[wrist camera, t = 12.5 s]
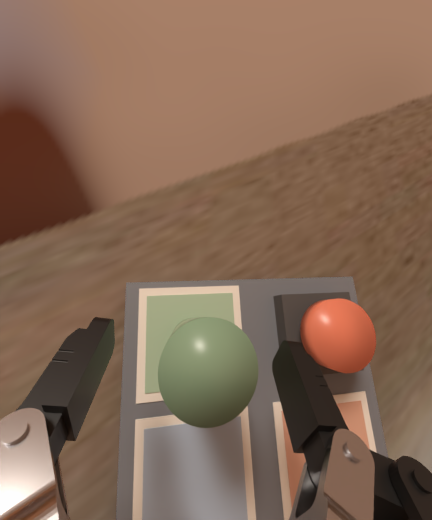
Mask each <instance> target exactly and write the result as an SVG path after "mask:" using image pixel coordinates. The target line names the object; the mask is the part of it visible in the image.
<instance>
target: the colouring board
mask: <svg viewBox="0 0 432 520" xmlns="http://www.w3.org/2000/svg"><path fill="white" fill-rule="evenodd" d="M337 298H339V299H347V300H350V301H352V302H354V303H356V304H357V305H358V301H357V296H356V291H355V286H354V281H353V277H323V278H286V279H249V280H211V281H174V282H137V283H126V301H125V324H124V347H123V370H122V393H121V416H120V438H119V461H118V484H117V507H116V520H289V518H290V515H291V511H292V507H293V504H294V500H295V496H296V492H297V489H298V485H299V481H300V477H301V473H302V470H303V466H304V463H305V462H306V459H305V456H304V453H294V451H293V448H292V444H291V440H290V436H289V433H288V429H287V425H286V421H285V417H284V414H283V410H282V406H281V402H280V398H279V395H278V391H277V387H276V383H275V380H274V376H273V372H272V362H273V358H274V357H275V355H276V353H277V351H278V349H279V347H280V345H281V343H282V342H283V341H284V340H287V341H295V342H300V343H301V344H302V346H303V343H302V340H301V335H300V325H301V320H302V317H303V315H304V313H305V311H306V310H307V309H308V308H309V307H310V306H311V305H312V304H314V303H315V302H317V301H321V300H328V299H337ZM200 317H215V318H221V319H224V320H227V321H229V322H232V323H233V324H235V325H236V326H238V327H239V328H240V329H241V330H242V331H243V332H244V333H245V334H246V335H247V336H248V338H249V339H250V341H251V343H252V344H253V347H254V349H255V352H256V355H257V360H258V381H257V386H256V389H255V392H254V394H253V397H252V399H251V401H250V402H249V404H248V405H247V407H246V408H245V409H244V410H243V411H242V412H241V413H240V414H239V415H238V416H237V417H236V418H234V419H233V420H232V421H230V422H228V423H226V424H224V425H221V426H218V427H213V428H199V427H195V426H191V425H189V424H186V423H184V422H183V421H181V420H179V419H178V418H177V417H176V416H175V415H174V414H173V413H172V412H171V411H170V410H169V409H168V407H167V406H166V404H165V402H164V400H163V398H162V396H161V393H160V389H159V384H158V366H159V361H160V357H161V354H162V351H163V349H164V347H165V345H166V343H167V341H168V339H169V338H170V336H171V335H172V333H173V331H174V329H175V327H176V326H177V325H178V324H179V323H180V322H181V321H183V320H185V319H188V318H200ZM303 348H304V346H303ZM304 351H305V353H306V354H308V353H307V352H306V350H305V348H304ZM317 364H318V363H317ZM318 365H319V367H320V369H321V371H322V374H323V376H324V379H325V380H326V382H327V384H328V388H329V389H330V391H331V393H332V395H333V397H334V399H335V402H336V404H337V406H338V408H339V410H340V412H341V414H342V417H343V419H344V421H345V423H346V425H347V427H348V429H349V430H350V431H352V432H353V433H355V434H356V435H357V436H359V437H360V438H361V439H362V440H363V442H364V443H365V444H366V445H367V447H368V448H369V449H370V450H372V451H374V452H376V453H379V454H381V455H383V456H385V457H387V458H388V454H387V449H386V444H385V439H384V434H383V429H382V424H381V418H380V413H379V408H378V403H377V398H376V393H375V388H374V383H373V378H372V373H371V368H370V363H369V364H368V365H367V366H366V367H365V368H363V369H362V370H360V371H358V372H355V373H341V372H338V371H335V370H332V369H329V368H326V367H324V366H321V365H320V364H318Z"/></svg>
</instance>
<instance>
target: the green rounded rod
mask: <svg viewBox="0 0 432 520" xmlns="http://www.w3.org/2000/svg"><path fill="white" fill-rule="evenodd" d="M257 381H258V360H257V355H256V352H255V349H254V347H253V344H252V343H251V341H250V339H249V338H248V336H247V335H246V334H245V333H244V332H243V331H242V330H241V329H240V328H239V327H238V326H236V325H235V324H233V323H232V322H229V321H227V320H224V319H221V318H215V317H200V318H188V319H185V320H183V321H181V322H180V323H179V324H178V325H177V326H176V327H175V329H174V331H173V333H172V335H171V336H170V338H169V339H168V341H167V343H166V345H165V347H164V349H163V351H162V354H161V357H160V361H159V366H158V384H159V389H160V393H161V396H162V398H163V400H164V402H165V404H166V406H167V407H168V409H169V410H170V411H171V412H172V413H173V414H174V415H175V416H176V417H177V418H178V419H179V420H181V421H183V422H184V423H186V424H189V425H191V426H195V427H199V428H213V427H218V426H221V425H224V424H226V423H228V422H230V421H232V420H233V419H234V418H236V417H237V416H238V415H239V414H240V413H241V412H242V411H243V410H244V409H245V408H246V407H247V405H248V404H249V402H250V401H251V399H252V397H253V394H254V392H255V389H256V386H257Z"/></svg>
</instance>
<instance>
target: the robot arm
mask: <svg viewBox="0 0 432 520" xmlns="http://www.w3.org/2000/svg"><path fill="white" fill-rule="evenodd" d="M114 343H115V338H114V320H113V319H106V318H98V317H95V318H94V319H93V320H92V322H91V323H90V325H89V327H88V328H87V329H81V328H78V329H77V330H76V331H75V332H73V333H72V334H71V335H69V336H68V337H67V338H66V340H65V341H64V342H63V344H62V345H61V347H60V348H59V351H58V352H57V353H56V354H55V356H54V357H53V359H52V362H50V363H49V365H48V366H47V368H46V369H45V371H44V372H43V374H42V375H41V377H40V378H39V380H38V381H37V383H36V384H35V386H34V387H33V389H32V390H31V392H30V393H29V395H28V396H27V397H26V399H25V400H24V402H23V403H22V404H21V406H20V407H19V408H18V409H17V410H16V411H14V412H13V413H11V414H9V415H7V416H6V417H4V418H3V419H2V420H0V520H70V517H69V512H68V506H67V501H66V495H65V490H64V484H63V479H62V473H61V468H60V462H59V457H58V456H59V454H60V452H61V450H62V448H63V445H64V443H65V441H66V440H68V441H76V438H77V436H78V433H79V431H80V429H81V426H82V424H83V422H84V419H85V417H86V415H87V412H88V410H89V408H90V405H91V403H92V400H93V398H94V396H95V393H96V391H97V389H98V386H99V384H100V382H101V379H102V377H103V374H104V372H105V370H106V367H107V365H108V363H109V360H110V358H111V355H112V353H113V349H114ZM272 372H273V376H274V380H275V383H276V387H277V391H278V395H279V398H280V402H281V406H282V410H283V414H284V417H285V421H286V425H287V429H288V433H289V436H290V440H291V444H292V448H293V451H294V453H304V456H305V459H306V462H305V463H304V466H303V470H302V473H301V477H300V481H299V485H298V489H297V492H296V496H295V500H294V504H293V507H292V511H291V515H290V518H289V520H432V473H431V472H430V471H429V470H428V469H427V468H426V467H425V466H423V465H422V464H421V463H420V462H418V461H417V460H415V459H413V458H411V457H408V456H402V457H400V458H399V459H397V460H396V461H394V460H392V459H390V458H387V457H385V456H383V455H381V454H379V453H376V452H374V451H372V450H370V449H369V448H368V447H367V445H366V444H365V443H364V442H363V440H362V439H361V438H360V437H359V436H357V435H356V434H355V433H353V432H352V431H350V430H349V429H348V427H347V425H346V423H345V421H344V419H343V417H342V414H341V412H340V410H339V408H338V406H337V404H336V402H335V399H334V397H333V395H332V393H331V391H330V389H329V388H328V384H327V382H326V380H325V379H324V376H323V374H322V371H321V369H320V367H319V365H318V364H317V363H316V361H315V360H314V359H313V358H312V357H311V355H308V354H306V353H305V351H304V348H303V346H302V344H301V343H300V342H295V341H287V340H284V341H283V342H282V343H281V345H280V347H279V349H278V351H277V353H276V355H275V357H274V358H273V362H272Z"/></svg>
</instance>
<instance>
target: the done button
mask: <svg viewBox="0 0 432 520" xmlns="http://www.w3.org/2000/svg"><path fill="white" fill-rule="evenodd" d="M300 335H301V340H302V343H303V346H304V348H305V350H306V352H307V353H308V355H311V357H312V358H313V359H314V360H315V361H316V363H318V364H320V365H321V366H324V367H326V368H329V369H332V370H335V371H338V372H341V373H355V372H358V371H360V370H362V369H363V368H365V367H366V366H367V365H368V364H369V362H370V361H371V359H372V357H373V355H374V352H375V347H376V335H375V330H374V327H373V324H372V322H371V320H370V318H369V316H368V315H367V313H366V312H365V311H364V310H363V309H362V308H361V307H360V306H359V305H357V304H356V303H354V302H352V301H350V300H347V299H339V298H337V299H328V300H321V301H317V302H315V303H314V304H312V305H311V306H310V307H309V308H308V309H307V310H306V311H305V313H304V315H303V317H302V320H301V325H300Z"/></svg>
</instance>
